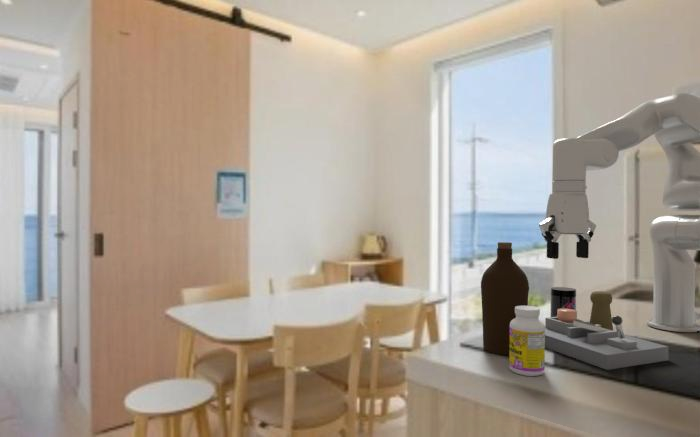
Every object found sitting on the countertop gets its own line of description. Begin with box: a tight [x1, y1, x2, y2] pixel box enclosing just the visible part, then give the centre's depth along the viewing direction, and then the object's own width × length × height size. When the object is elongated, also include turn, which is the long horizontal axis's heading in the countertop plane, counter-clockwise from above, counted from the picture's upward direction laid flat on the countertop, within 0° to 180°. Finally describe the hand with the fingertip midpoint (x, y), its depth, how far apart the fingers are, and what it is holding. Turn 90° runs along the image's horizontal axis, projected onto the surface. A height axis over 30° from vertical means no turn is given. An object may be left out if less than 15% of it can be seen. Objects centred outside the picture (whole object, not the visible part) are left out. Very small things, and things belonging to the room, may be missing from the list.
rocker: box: [573, 320, 612, 332], centre depth 107 cm, size 9×4×1 cm, turn 111°
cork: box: [589, 290, 614, 331], centre depth 124 cm, size 6×6×11 cm
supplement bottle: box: [508, 305, 546, 377], centre depth 93 cm, size 7×7×13 cm
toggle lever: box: [612, 315, 625, 339], centre depth 101 cm, size 2×2×5 cm
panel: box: [544, 316, 670, 371], centre depth 108 cm, size 18×24×6 cm
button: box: [557, 309, 578, 323], centre depth 115 cm, size 4×4×3 cm
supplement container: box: [550, 286, 577, 317], centre depth 133 cm, size 7×7×10 cm
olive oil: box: [480, 241, 530, 356], centre depth 108 cm, size 11×11×25 cm
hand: (567, 257), depth 115 cm, fingers open, 9 cm apart
